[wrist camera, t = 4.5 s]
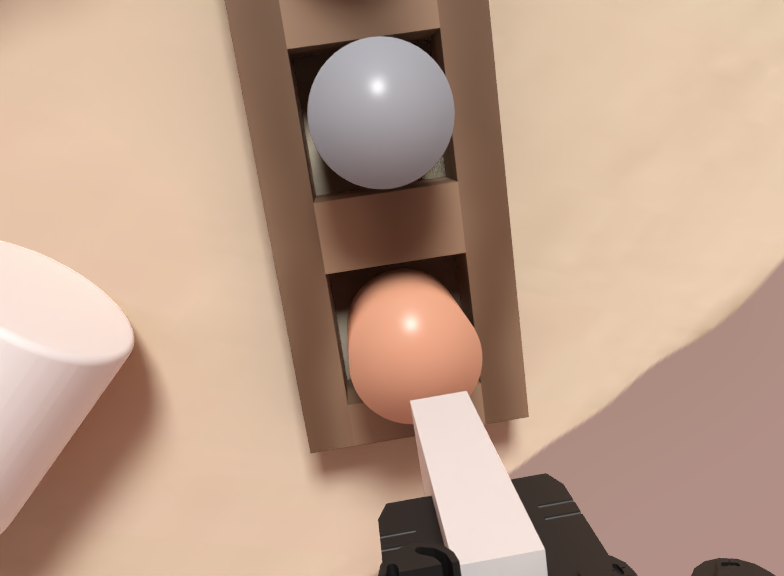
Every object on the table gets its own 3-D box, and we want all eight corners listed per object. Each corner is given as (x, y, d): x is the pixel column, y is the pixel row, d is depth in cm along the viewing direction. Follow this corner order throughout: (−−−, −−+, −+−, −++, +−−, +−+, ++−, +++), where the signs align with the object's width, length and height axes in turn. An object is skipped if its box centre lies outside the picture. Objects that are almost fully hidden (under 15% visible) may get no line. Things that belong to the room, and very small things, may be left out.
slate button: (324, 187, 27) (320, 199, 22) (303, 63, 26) (295, 47, 21) (440, 169, 28) (462, 177, 22) (425, 46, 26) (445, 26, 21)
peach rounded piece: (356, 382, 30) (359, 434, 24) (339, 277, 28) (339, 309, 23) (463, 365, 30) (488, 412, 25) (450, 260, 28) (474, 287, 23)
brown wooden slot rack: (313, 423, 32) (310, 453, 29) (191, -232, 25) (171, -281, 22) (511, 391, 32) (528, 416, 29) (444, -262, 25) (458, -314, 22)
